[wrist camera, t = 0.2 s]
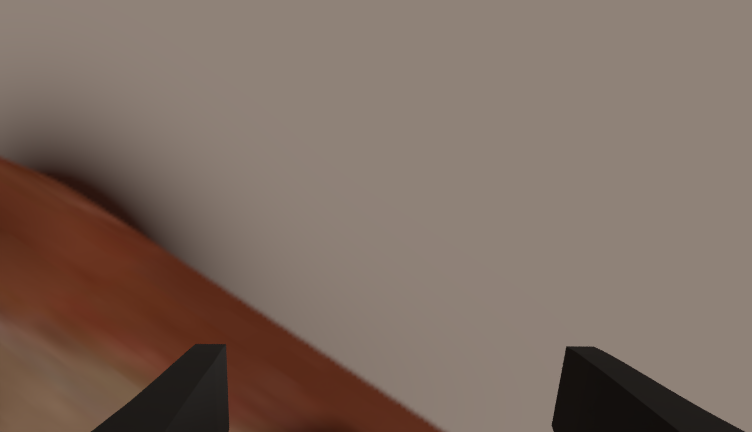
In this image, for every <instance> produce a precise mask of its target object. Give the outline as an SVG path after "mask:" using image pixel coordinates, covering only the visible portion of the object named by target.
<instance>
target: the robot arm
mask: <svg viewBox="0 0 752 432" xmlns="http://www.w3.org/2000/svg"><path fill="white" fill-rule="evenodd" d="M552 427H553V431H554V432H744V431H742V430H741V429H739V428H737V427H735V426H733V425H731V424H729V423H728V422H726V421H724V420H722V419H720V418H718V417H716V416H714V415H713V414H711V413H709V412H707V411H705V410H703V409H702V408H700V407H698V406H697V405H695V404H693V403H691V402H689V401H688V400H686V399H684V398H683V397H681V396H679V395H677V394H676V393H674V392H672V391H671V390H669V389H667V388H666V387H664V386H662V385H661V384H659V383H657V382H656V381H654V380H652V379H651V378H649V377H647V376H646V375H644V374H642V373H640V372H639V371H637V370H635V369H634V368H632V367H631V366H629V365H627V364H625V363H624V362H622V361H620V360H618V359H617V358H615V357H613V356H611V355H609V354H608V353H606V352H604V351H602V350H600V349H598V348H595V347H566V351H565V357H564V362H563V367H562V373H561V378H560V384H559V389H558V395H557V400H556V405H555V411H554V416H553V421H552ZM228 431H229V410H228V385H227V360H226V344H195V345H194V346H193V347H192V348H190V349H189V350H188V351H187V352H186V353H185V354H184V355H182V356H181V357H180V358H179V359H178V360H177V361H176V362H175V363H173V364H172V365H171V366H170V367H169V368H168V369H167V370H166V371H164V372H163V373H162V374H161V375H160V376H159V377H158V378H157V379H155V380H154V381H153V382H152V383H151V384H150V385H149V386H147V387H146V388H145V389H144V390H143V391H142V392H140V393H139V394H138V395H137V396H136V397H135V398H133V399H132V400H131V401H130V402H129V403H127V404H126V405H125V406H123V407H122V408H121V409H120V410H118V411H117V412H116V413H114V414H113V415H112V416H111V417H109V418H108V419H107V420H105V421H104V422H103V423H102V424H100V425H99V426H98V427H96V428H95V429H94V430H93V431H91V432H228Z"/></svg>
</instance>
